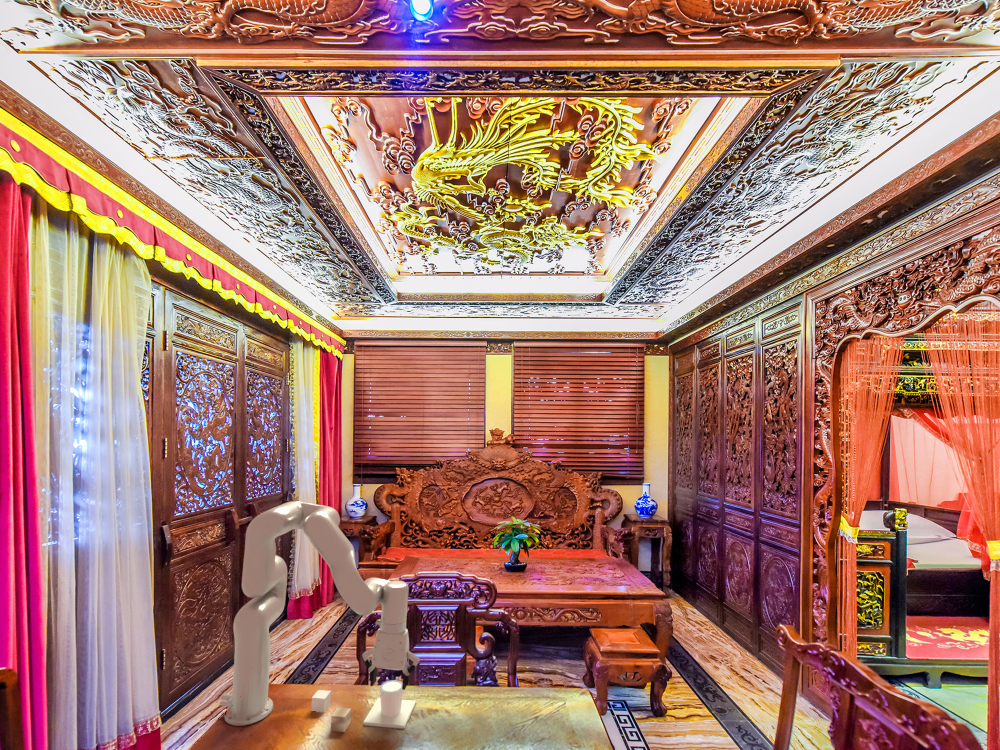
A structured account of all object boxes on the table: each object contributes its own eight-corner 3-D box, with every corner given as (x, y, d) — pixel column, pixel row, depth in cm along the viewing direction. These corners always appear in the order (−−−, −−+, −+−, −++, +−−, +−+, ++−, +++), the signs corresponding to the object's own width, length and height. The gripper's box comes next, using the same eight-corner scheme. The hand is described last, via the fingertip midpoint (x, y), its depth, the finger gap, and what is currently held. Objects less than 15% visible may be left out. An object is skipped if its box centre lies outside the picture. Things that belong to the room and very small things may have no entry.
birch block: (330, 731, 133) (331, 716, 133) (336, 722, 137) (337, 707, 137) (344, 732, 132) (345, 717, 133) (350, 723, 136) (351, 708, 137)
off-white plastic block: (311, 711, 141) (311, 697, 142) (317, 703, 145) (318, 689, 146) (324, 713, 141) (324, 698, 141) (330, 704, 145) (331, 691, 145)
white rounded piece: (396, 720, 137) (397, 694, 137) (374, 716, 138) (375, 690, 139) (406, 706, 143) (407, 681, 144) (385, 702, 145) (386, 678, 146)
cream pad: (363, 725, 136) (363, 722, 136) (378, 700, 147) (378, 697, 148) (404, 728, 134) (404, 725, 134) (416, 703, 146) (416, 700, 146)
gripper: (360, 628, 140) (355, 689, 139) (418, 634, 138) (413, 696, 137) (370, 617, 148) (365, 675, 146) (424, 623, 146) (420, 681, 144)
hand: (388, 685), depth 142 cm, fingers open, 9 cm apart
